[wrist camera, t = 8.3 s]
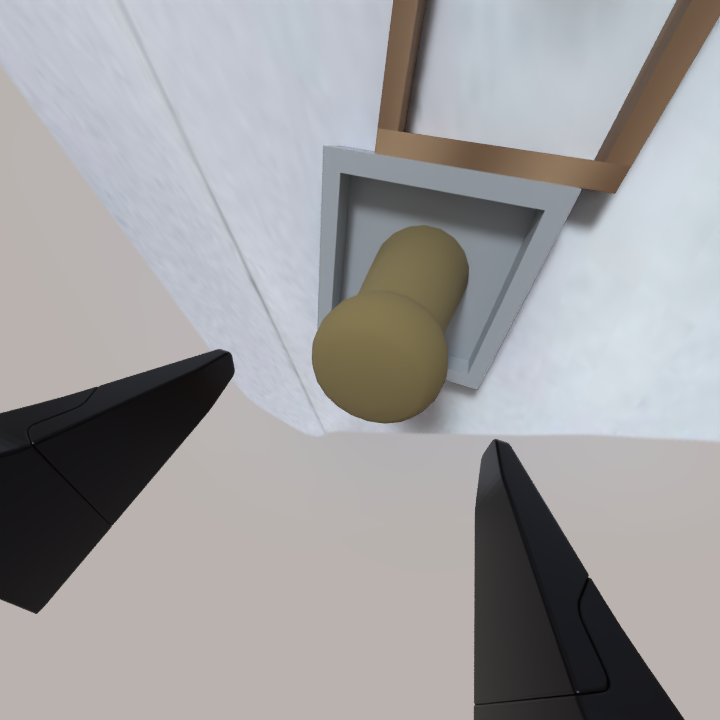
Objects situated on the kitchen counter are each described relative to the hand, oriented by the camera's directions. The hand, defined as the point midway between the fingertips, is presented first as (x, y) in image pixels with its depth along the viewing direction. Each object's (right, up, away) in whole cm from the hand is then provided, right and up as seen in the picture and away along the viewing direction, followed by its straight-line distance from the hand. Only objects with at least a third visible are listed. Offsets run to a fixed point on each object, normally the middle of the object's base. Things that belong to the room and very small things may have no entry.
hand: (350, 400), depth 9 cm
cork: (+4, +7, +9) cm, 12 cm away
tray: (+4, +7, +9) cm, 12 cm away
